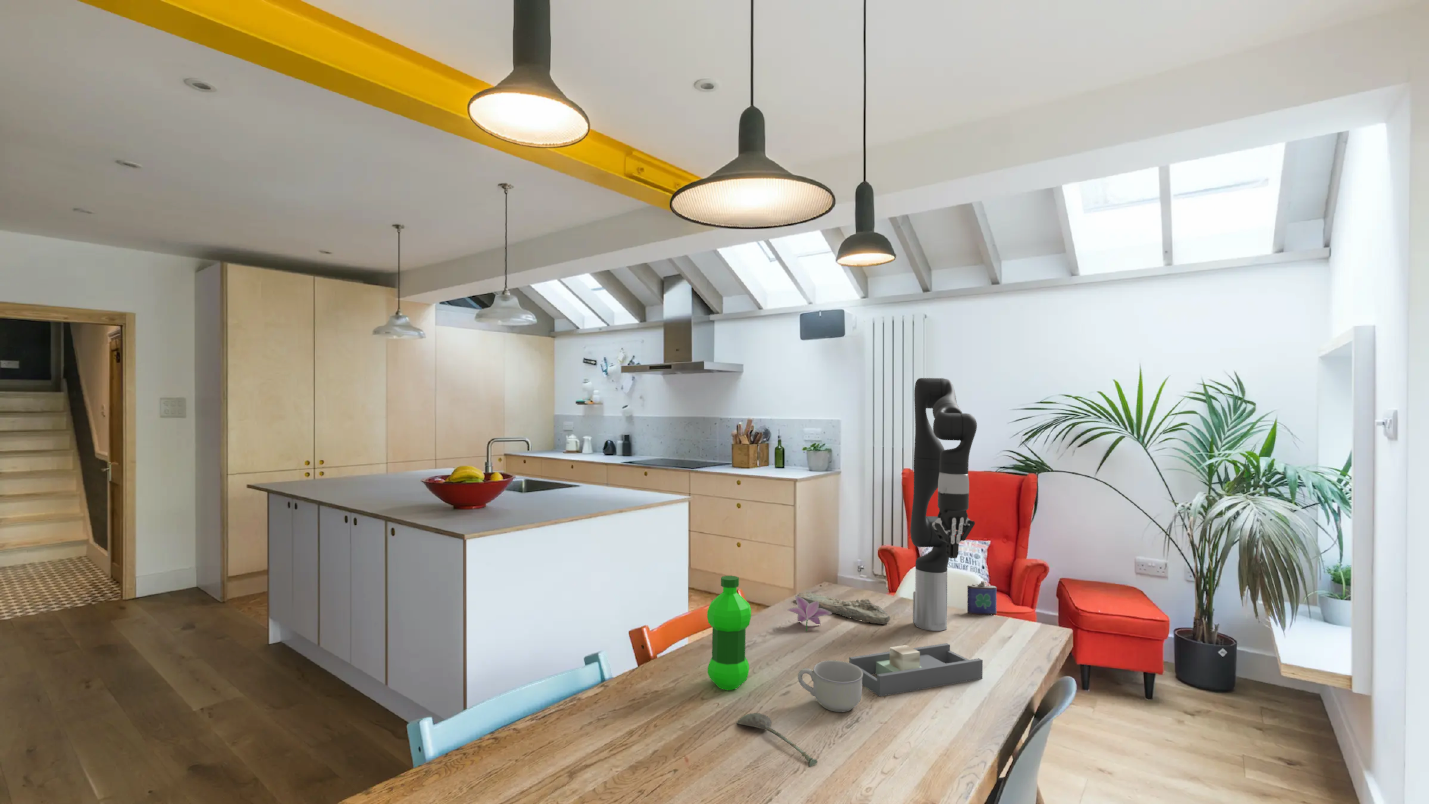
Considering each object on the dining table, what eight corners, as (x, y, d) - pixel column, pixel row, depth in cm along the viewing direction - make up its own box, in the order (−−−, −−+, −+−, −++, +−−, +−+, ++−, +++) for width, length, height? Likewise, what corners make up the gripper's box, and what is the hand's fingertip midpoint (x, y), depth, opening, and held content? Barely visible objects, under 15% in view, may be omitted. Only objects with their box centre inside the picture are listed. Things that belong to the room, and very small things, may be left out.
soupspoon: (756, 719, 139) (731, 728, 135) (756, 703, 139) (730, 711, 135) (827, 763, 120) (799, 774, 117) (826, 744, 120) (798, 755, 117)
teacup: (865, 700, 147) (865, 664, 147) (859, 721, 136) (859, 682, 137) (803, 690, 151) (804, 655, 151) (793, 710, 141) (794, 672, 141)
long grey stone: (808, 602, 229) (789, 609, 222) (807, 586, 229) (788, 593, 222) (897, 620, 203) (879, 629, 197) (896, 603, 204) (878, 611, 197)
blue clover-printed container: (994, 613, 214) (995, 579, 214) (998, 615, 211) (998, 582, 211) (966, 612, 215) (966, 579, 215) (969, 615, 212) (969, 581, 212)
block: (889, 663, 160) (889, 647, 160) (906, 661, 162) (906, 645, 162) (902, 671, 156) (902, 654, 156) (919, 668, 157) (919, 651, 158)
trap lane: (848, 675, 160) (849, 657, 160) (946, 660, 171) (946, 643, 171) (879, 696, 148) (880, 676, 149) (982, 678, 160) (982, 660, 160)
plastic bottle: (759, 685, 154) (760, 577, 154) (729, 698, 146) (731, 586, 146) (727, 673, 160) (729, 570, 161) (697, 685, 153) (699, 577, 153)
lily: (836, 635, 193) (835, 602, 198) (812, 627, 186) (812, 593, 191) (803, 638, 200) (803, 606, 205) (779, 631, 193) (780, 598, 198)
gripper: (963, 487, 175) (962, 552, 175) (922, 489, 170) (921, 556, 170) (984, 491, 168) (982, 559, 168) (942, 493, 163) (941, 563, 163)
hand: (951, 557), depth 169 cm, fingers closed
